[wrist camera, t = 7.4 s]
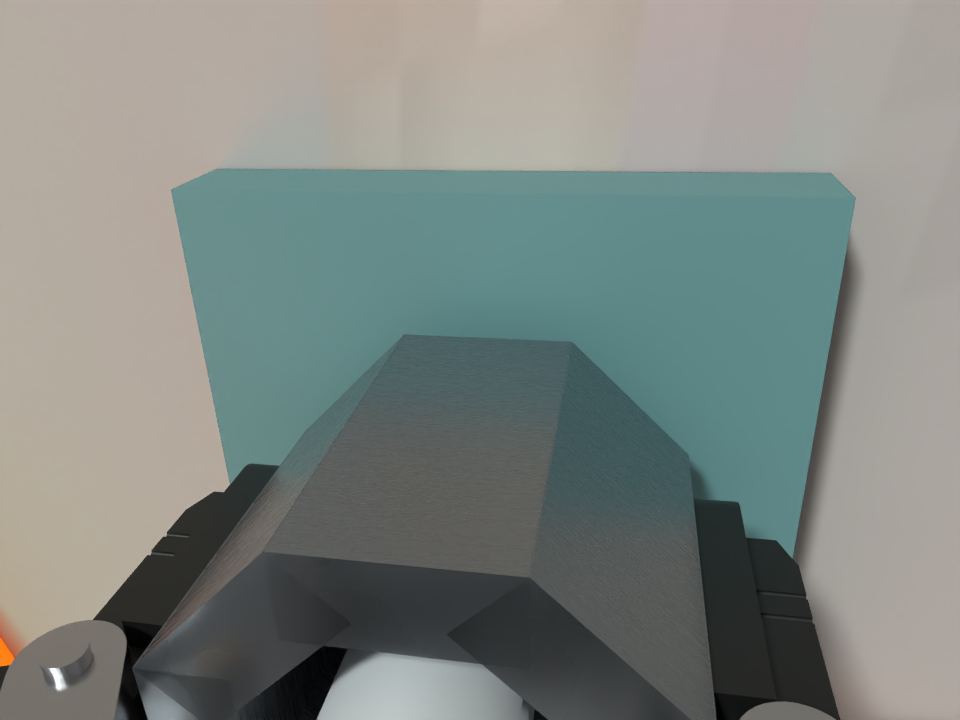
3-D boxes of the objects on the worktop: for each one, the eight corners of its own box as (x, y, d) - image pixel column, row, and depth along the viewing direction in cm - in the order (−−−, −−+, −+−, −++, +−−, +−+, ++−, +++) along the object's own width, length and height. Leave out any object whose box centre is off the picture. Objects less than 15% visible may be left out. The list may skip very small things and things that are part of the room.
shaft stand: (830, 172, 12) (1116, 461, 5) (753, 662, 16) (843, 1196, 9) (216, 169, 14) (-239, 375, 7) (293, 612, 18) (68, 1027, 11)
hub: (699, 347, 11) (740, 596, 7) (668, 663, 14) (683, 996, 9) (292, 329, 12) (91, 534, 8) (335, 626, 15) (204, 909, 10)
